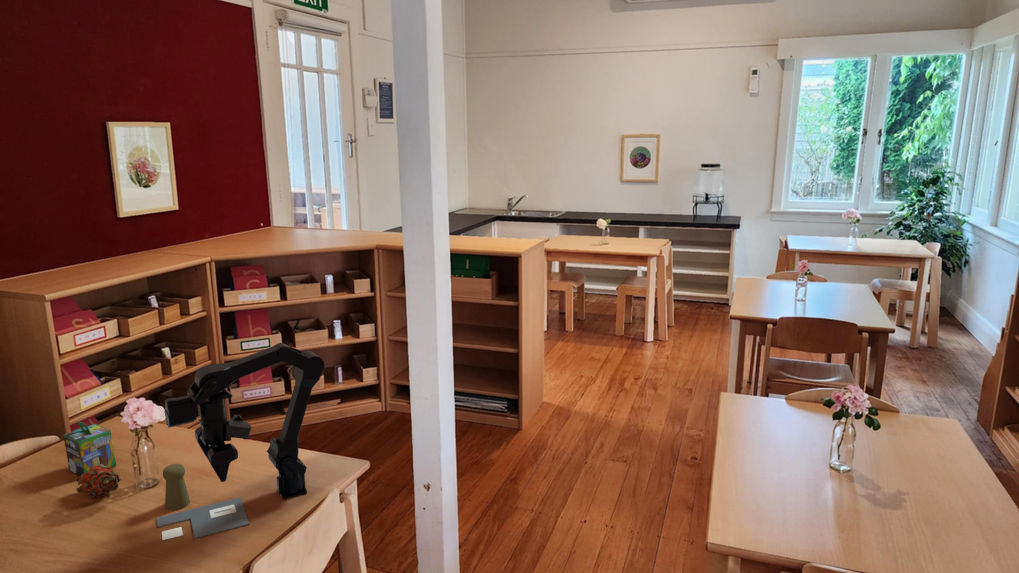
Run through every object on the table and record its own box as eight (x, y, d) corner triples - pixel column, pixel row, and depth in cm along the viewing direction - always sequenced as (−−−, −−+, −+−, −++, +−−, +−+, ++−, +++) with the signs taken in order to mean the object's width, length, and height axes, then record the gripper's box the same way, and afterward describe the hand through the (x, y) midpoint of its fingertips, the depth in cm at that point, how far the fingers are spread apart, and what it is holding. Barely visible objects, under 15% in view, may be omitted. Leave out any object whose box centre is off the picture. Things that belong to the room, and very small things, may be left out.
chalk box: (117, 466, 196) (110, 419, 193) (84, 479, 189) (76, 430, 186) (100, 458, 201) (94, 412, 198) (67, 470, 194) (60, 423, 190)
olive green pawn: (171, 513, 173) (167, 474, 170) (160, 505, 176) (155, 467, 174) (194, 503, 177) (190, 465, 175) (183, 495, 181) (179, 458, 178)
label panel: (240, 498, 180) (240, 496, 180) (249, 524, 168) (249, 523, 168) (156, 518, 170) (156, 517, 170) (159, 548, 158) (159, 546, 158)
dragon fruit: (120, 503, 180) (83, 503, 183) (134, 473, 186) (98, 474, 188) (98, 489, 174) (60, 490, 177) (114, 459, 179) (77, 460, 182)
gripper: (257, 421, 164) (262, 479, 168) (236, 397, 179) (241, 451, 183) (208, 433, 158) (214, 493, 161) (191, 407, 173) (197, 462, 176)
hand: (218, 473), depth 171 cm, fingers open, 9 cm apart
